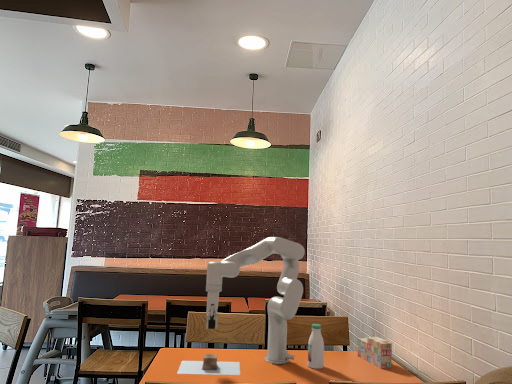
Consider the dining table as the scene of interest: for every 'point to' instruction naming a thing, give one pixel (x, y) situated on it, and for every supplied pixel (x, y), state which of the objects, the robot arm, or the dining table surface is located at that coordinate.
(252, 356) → the dining table surface
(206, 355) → the walnut block
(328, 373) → the dining table surface
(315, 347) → the milk bottle
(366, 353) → the stack of blocks
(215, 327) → the sage block
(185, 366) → the board
